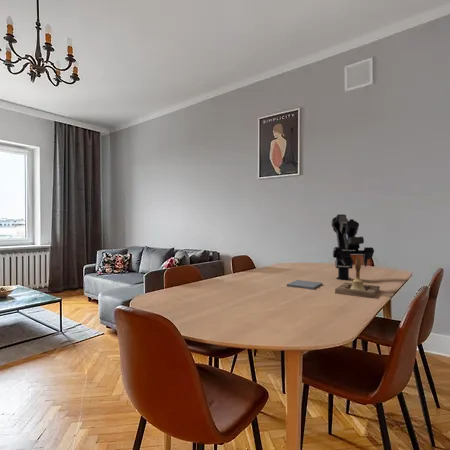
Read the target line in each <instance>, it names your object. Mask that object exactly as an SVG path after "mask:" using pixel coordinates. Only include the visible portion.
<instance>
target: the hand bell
mask: <svg viewBox="0 0 450 450" xmlns="http://www.w3.org/2000/svg"><path fill="white" fill-rule="evenodd" d="M361 267H362V262H361V259H360V258H359V257H357V258H356V259H355V263H354V268H355V269H354V270H355V279H353V280H352V282H351V283H352V286H351V288H350V289H356V290H364V291H366V290H365V288H364V285H365V284H364V281H363V280H362V279H361V278H360V277H361V274H360V272H361V271H360V270H361V269H362V268H361ZM363 284H364V285H363Z"/></svg>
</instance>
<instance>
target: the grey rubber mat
mask: <svg viewBox="0 0 450 450" xmlns="http://www.w3.org/2000/svg"><path fill="white" fill-rule="evenodd" d="M322 285H323V282H319V281H311V280H301V279H300V280H299V279H296V280H293V281H291V282H289V283H286V287H290V288H297V289H308V290H315V289H317V288H319V287H321V286H322Z"/></svg>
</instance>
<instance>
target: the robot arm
mask: <svg viewBox="0 0 450 450" xmlns="http://www.w3.org/2000/svg"><path fill="white" fill-rule="evenodd" d="M359 226H360V224H359V222H357V221H356V220H355V219H352V218H351V219H348V217H347V215H346V214H340V213H338V214H336V216H335V217H333V218H332V220H331V227H332V230H333V231H334V233H336V240H337V246H334V247H333V249H332V250H333V251H332V256H333V258H334V259H335V258H336V259H335V262H334V264H335V265H334V266H335V269H337V270H338V271H337V272H338V273H337V274H338V275H337V277H336V278H335V279H336V280H347V281H348V280H351V277H350V274H349V273H350V272H349V271H350V269H353V265H354V260H353V258H352V255H354V256H355V255H359V256H361V255H362V258H363V264H364V266H365V267H366V268H367V265H368V264H367V263H368V260H370V259H372V258H373V256H374V252H375V249H374V248H373V246H371V247H369V246H367V247H366V246H364V248H363V249H362V250H361V249H360V248H361V247H360V245H362V244H364V243H365V240H364V239H365V238H364V236H357V235H358V234H357V233H358V231H359Z"/></svg>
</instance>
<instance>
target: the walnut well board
mask: <svg viewBox="0 0 450 450" xmlns="http://www.w3.org/2000/svg"><path fill="white" fill-rule="evenodd" d="M363 285H364V288H365V290H367V291H364V290H356V289H349V288H351V286H352V282H344V283H341V285H339V286H337V287H335V289H334V293H335V294H338V295H345V294H348V295H347V296H353V295H356V296H355V297H361V296H363V297H362V298H369V297H370V299H373V298H374V297H375V296H376V295H377V294H378V293H379V291H380V286H379V285H373V284H371V285H370V284H364V283H363ZM377 292H378V293H377ZM376 293H377V294H376Z"/></svg>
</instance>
